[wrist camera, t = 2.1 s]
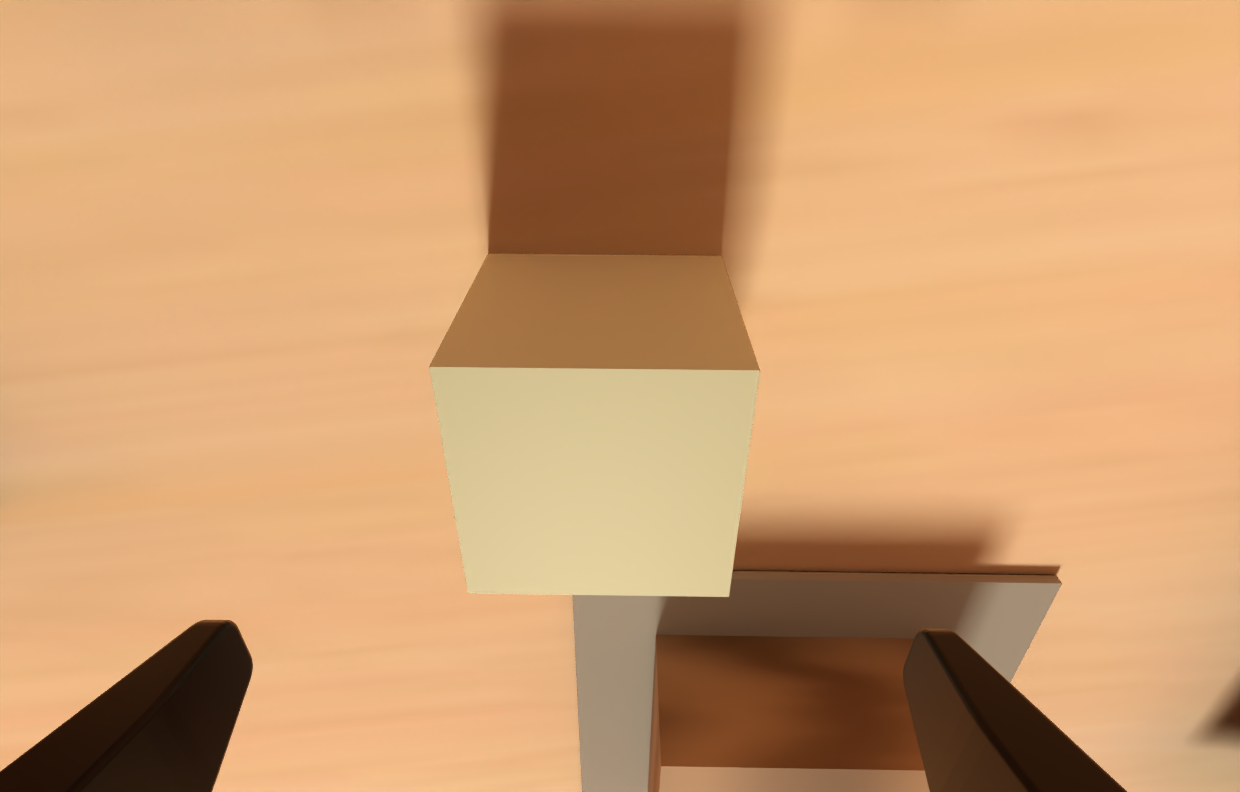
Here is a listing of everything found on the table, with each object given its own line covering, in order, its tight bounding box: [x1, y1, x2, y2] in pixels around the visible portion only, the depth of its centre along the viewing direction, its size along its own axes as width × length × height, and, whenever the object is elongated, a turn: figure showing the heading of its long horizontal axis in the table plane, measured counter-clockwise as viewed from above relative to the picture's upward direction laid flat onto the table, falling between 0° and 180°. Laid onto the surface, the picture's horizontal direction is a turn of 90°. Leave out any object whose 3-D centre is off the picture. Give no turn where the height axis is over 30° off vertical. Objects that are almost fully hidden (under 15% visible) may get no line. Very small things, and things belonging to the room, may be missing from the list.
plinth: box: [648, 635, 930, 792], centre depth 21 cm, size 9×9×4 cm
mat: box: [573, 571, 1062, 792], centre depth 23 cm, size 14×14×1 cm
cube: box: [429, 253, 760, 597], centre depth 13 cm, size 5×5×5 cm
